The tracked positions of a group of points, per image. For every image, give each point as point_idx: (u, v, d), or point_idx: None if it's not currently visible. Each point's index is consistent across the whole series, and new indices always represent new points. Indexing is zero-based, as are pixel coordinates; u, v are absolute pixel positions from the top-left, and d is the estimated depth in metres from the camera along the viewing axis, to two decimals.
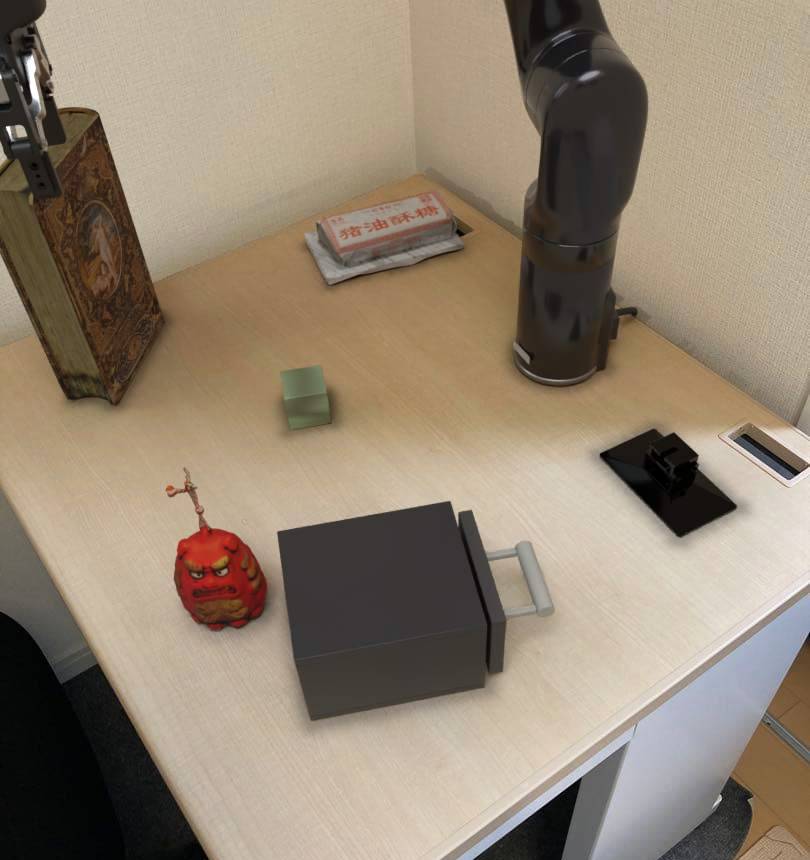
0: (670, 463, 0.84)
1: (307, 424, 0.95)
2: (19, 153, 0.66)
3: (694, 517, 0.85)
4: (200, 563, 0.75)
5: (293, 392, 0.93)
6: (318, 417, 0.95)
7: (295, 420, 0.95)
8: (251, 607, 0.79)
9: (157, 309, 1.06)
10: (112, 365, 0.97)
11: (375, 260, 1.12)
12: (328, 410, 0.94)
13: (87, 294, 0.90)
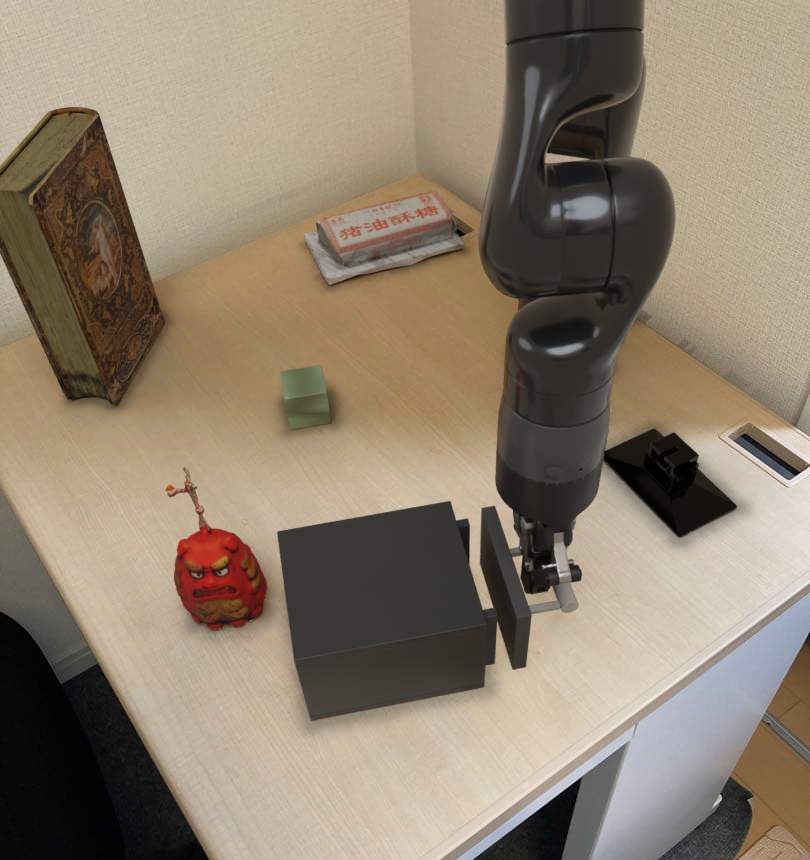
0: (670, 463, 0.84)
1: (307, 424, 0.95)
2: None
3: (694, 517, 0.85)
4: (200, 563, 0.75)
5: (293, 392, 0.93)
6: (318, 417, 0.95)
7: (295, 420, 0.95)
8: (251, 607, 0.79)
9: (157, 309, 1.06)
10: (112, 365, 0.97)
11: (375, 260, 1.12)
12: (328, 410, 0.94)
13: (87, 294, 0.90)
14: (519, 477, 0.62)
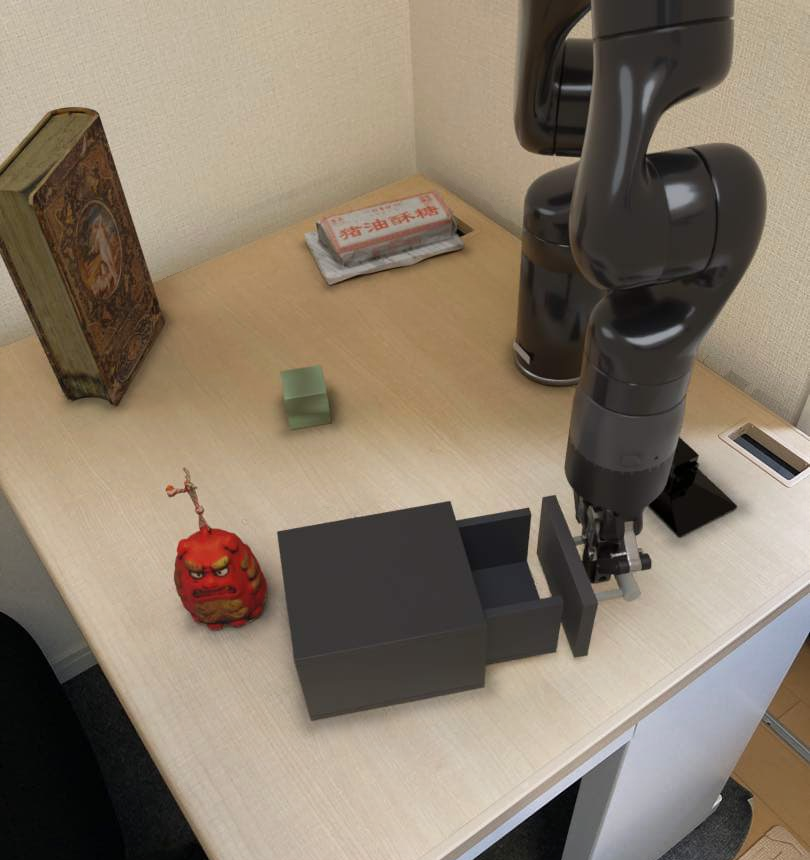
0: None
1: (307, 424, 0.95)
2: None
3: (694, 517, 0.85)
4: (200, 563, 0.75)
5: (293, 392, 0.93)
6: (318, 417, 0.95)
7: (295, 420, 0.95)
8: (251, 607, 0.79)
9: (157, 309, 1.06)
10: (112, 365, 0.97)
11: (375, 260, 1.12)
12: (328, 410, 0.94)
13: (87, 294, 0.90)
14: (593, 466, 0.62)
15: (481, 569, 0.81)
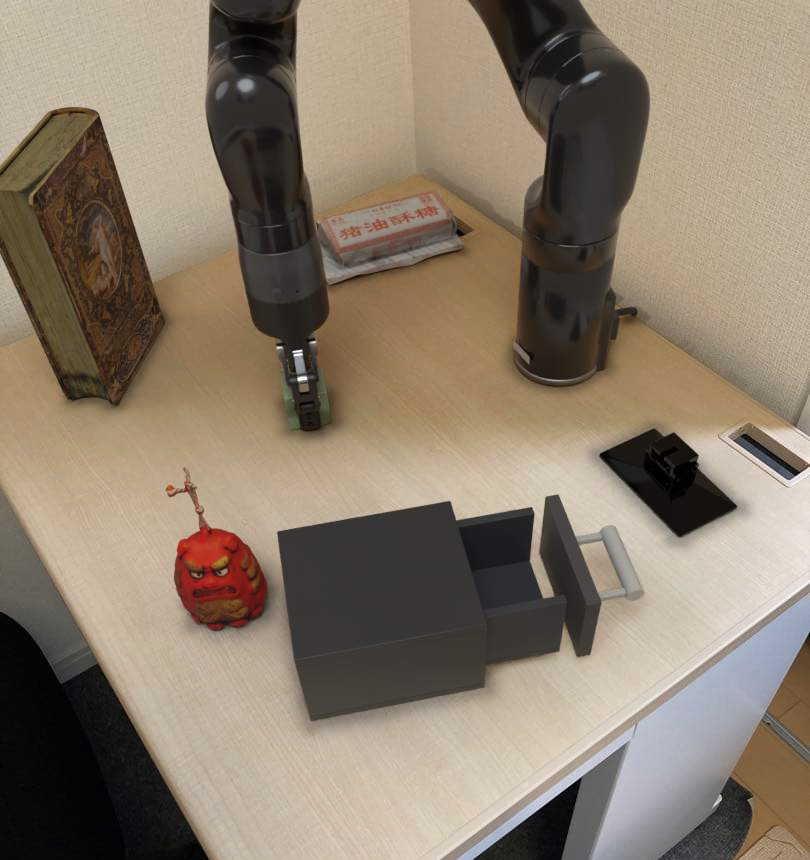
0: (670, 463, 0.84)
1: None
2: (305, 410, 0.90)
3: (694, 517, 0.85)
4: (200, 563, 0.75)
5: None
6: None
7: (295, 420, 0.95)
8: (251, 607, 0.79)
9: (157, 309, 1.06)
10: (112, 365, 0.97)
11: (375, 260, 1.11)
12: (328, 410, 0.94)
13: (87, 294, 0.90)
14: (256, 301, 0.82)
15: (484, 568, 0.81)
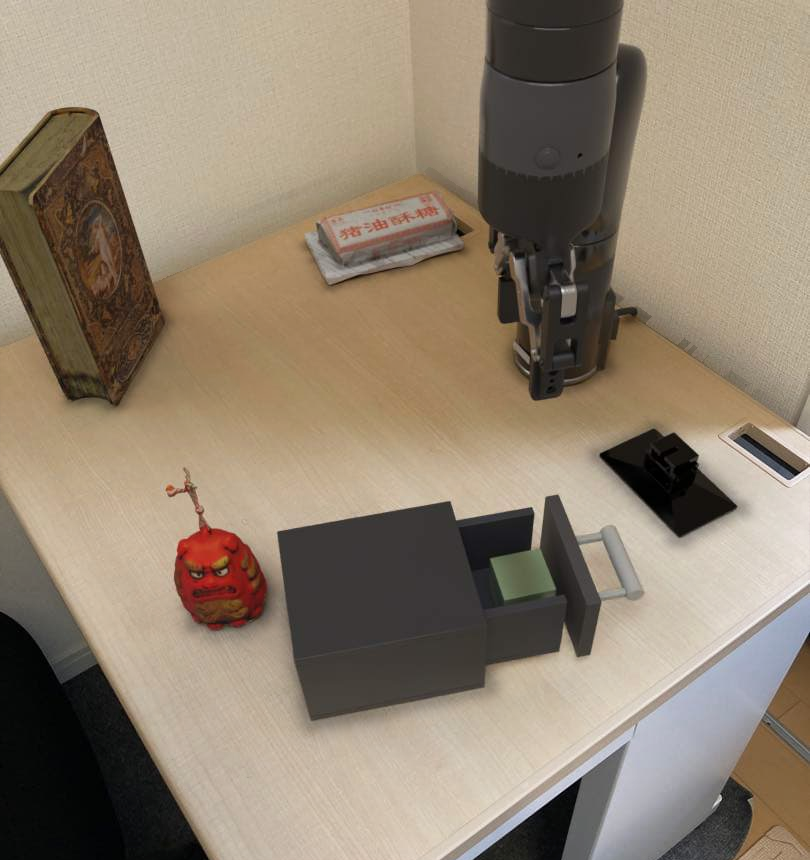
0: (670, 463, 0.84)
1: None
2: (559, 366, 0.56)
3: (694, 517, 0.85)
4: (200, 563, 0.75)
5: (514, 589, 0.74)
6: None
7: None
8: (251, 607, 0.79)
9: (157, 309, 1.06)
10: (112, 365, 0.97)
11: (375, 260, 1.11)
12: None
13: (87, 294, 0.90)
14: (505, 174, 0.51)
15: (484, 568, 0.81)
